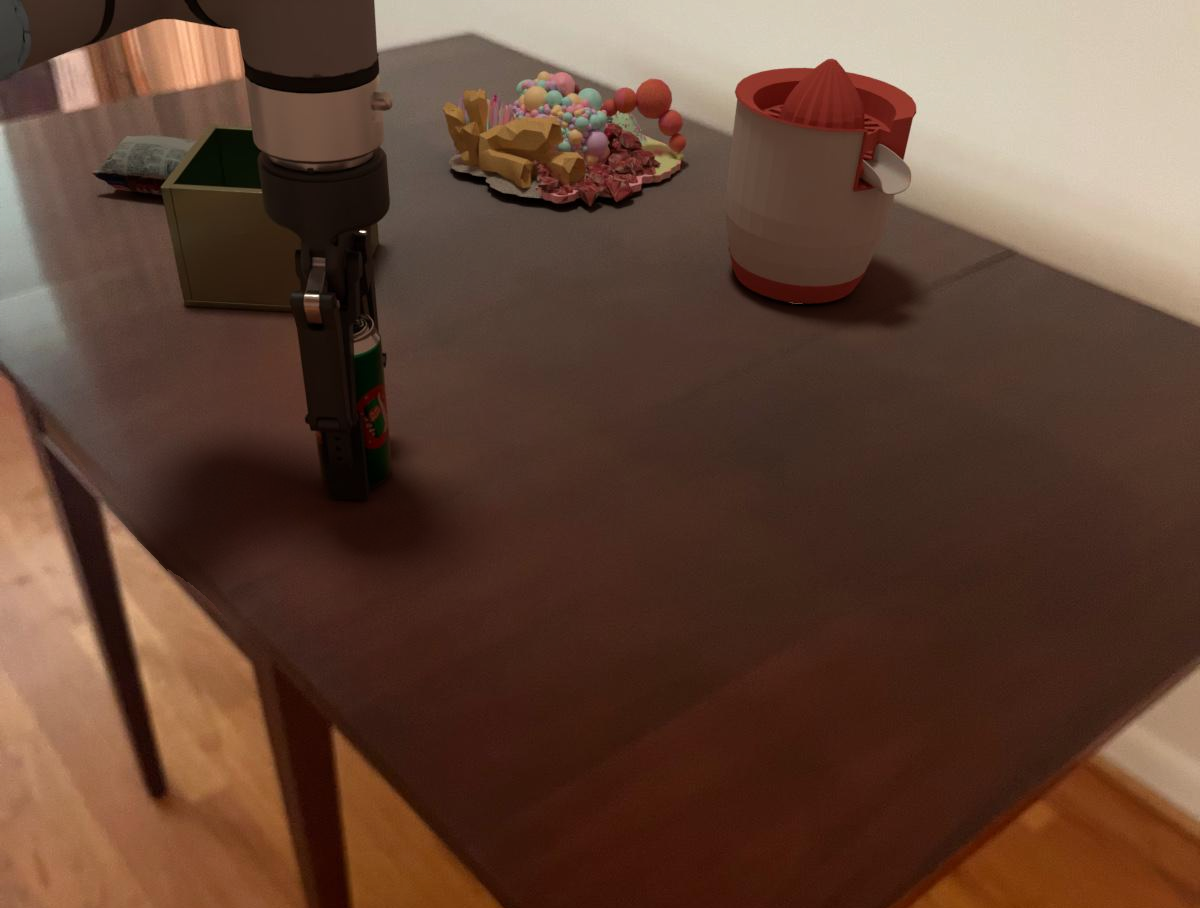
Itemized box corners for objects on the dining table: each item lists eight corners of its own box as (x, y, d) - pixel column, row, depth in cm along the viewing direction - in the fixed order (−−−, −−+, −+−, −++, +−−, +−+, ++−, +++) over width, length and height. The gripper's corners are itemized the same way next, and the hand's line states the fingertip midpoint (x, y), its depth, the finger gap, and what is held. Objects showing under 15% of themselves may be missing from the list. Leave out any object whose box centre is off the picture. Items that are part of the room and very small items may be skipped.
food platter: (597, 229, 118) (601, 136, 112) (409, 174, 126) (403, 85, 120) (705, 155, 134) (714, 71, 128) (533, 111, 143) (534, 30, 137)
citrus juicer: (812, 343, 102) (857, 108, 89) (679, 268, 112) (701, 47, 99) (924, 296, 110) (981, 75, 97) (791, 231, 120) (825, 21, 107)
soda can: (315, 461, 85) (294, 311, 77) (383, 450, 87) (370, 302, 79) (328, 501, 82) (308, 348, 74) (399, 488, 83) (387, 337, 75)
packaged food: (138, 165, 124) (127, 117, 121) (242, 179, 123) (235, 131, 120) (95, 197, 118) (83, 148, 115) (205, 212, 116) (196, 163, 113)
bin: (184, 306, 102) (160, 187, 95) (228, 235, 113) (209, 123, 106) (351, 315, 102) (339, 197, 95) (379, 244, 113) (370, 133, 106)
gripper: (357, 214, 62) (389, 554, 77) (407, 99, 76) (425, 407, 91) (216, 206, 62) (275, 548, 77) (291, 93, 75) (329, 402, 91)
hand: (356, 471), depth 84 cm, fingers closed on soda can, 5 cm apart
